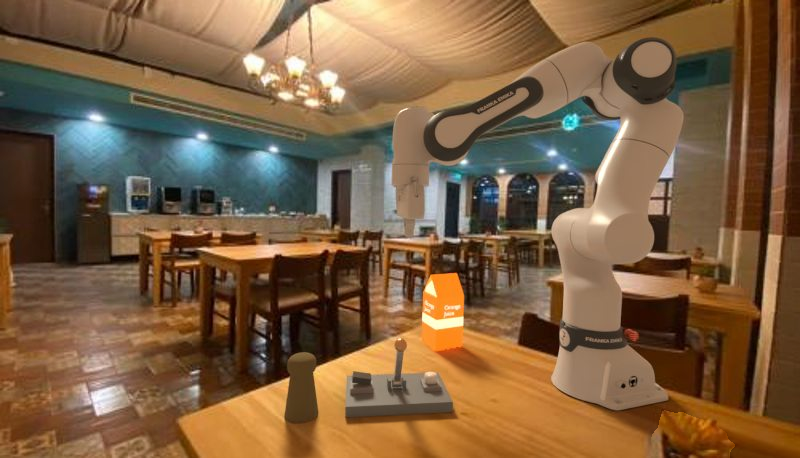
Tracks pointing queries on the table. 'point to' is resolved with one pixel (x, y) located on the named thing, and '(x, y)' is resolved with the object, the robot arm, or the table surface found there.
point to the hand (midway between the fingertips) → (408, 237)
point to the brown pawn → (301, 389)
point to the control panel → (396, 396)
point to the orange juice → (443, 312)
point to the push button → (430, 378)
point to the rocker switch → (361, 378)
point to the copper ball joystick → (398, 361)
